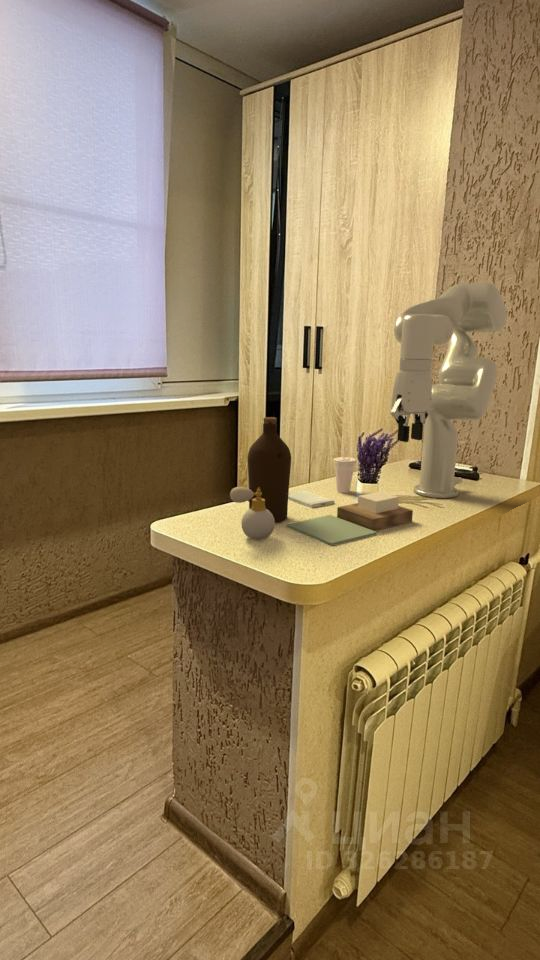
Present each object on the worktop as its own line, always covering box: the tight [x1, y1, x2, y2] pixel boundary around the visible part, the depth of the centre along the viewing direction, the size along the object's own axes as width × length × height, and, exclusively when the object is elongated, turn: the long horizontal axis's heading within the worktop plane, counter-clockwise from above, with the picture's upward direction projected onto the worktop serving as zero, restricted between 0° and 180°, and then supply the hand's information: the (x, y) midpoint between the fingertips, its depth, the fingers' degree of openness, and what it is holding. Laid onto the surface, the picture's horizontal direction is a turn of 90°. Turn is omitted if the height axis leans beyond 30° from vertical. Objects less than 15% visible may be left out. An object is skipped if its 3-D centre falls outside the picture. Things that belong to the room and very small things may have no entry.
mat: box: [285, 514, 378, 547], centre depth 140 cm, size 14×16×1 cm
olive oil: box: [246, 416, 292, 524], centre depth 146 cm, size 11×11×25 cm
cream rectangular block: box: [357, 491, 400, 514], centre depth 148 cm, size 8×6×3 cm
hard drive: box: [288, 489, 335, 509], centre depth 166 cm, size 2×8×12 cm
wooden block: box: [336, 502, 414, 532], centre depth 149 cm, size 14×12×3 cm
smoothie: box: [333, 444, 357, 494], centre depth 174 cm, size 6×6×14 cm
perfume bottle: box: [229, 486, 276, 541], centre depth 132 cm, size 8×10×12 cm
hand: (409, 439), depth 151 cm, fingers open, 4 cm apart
